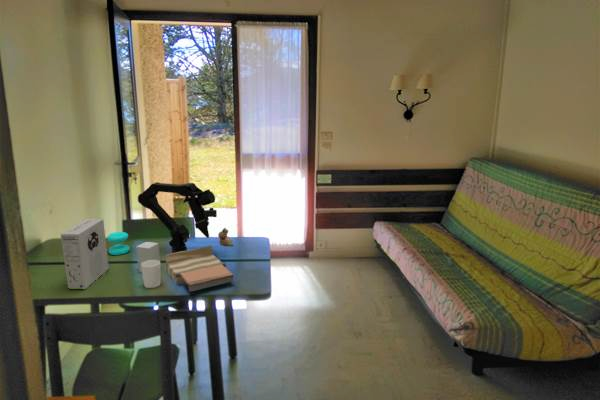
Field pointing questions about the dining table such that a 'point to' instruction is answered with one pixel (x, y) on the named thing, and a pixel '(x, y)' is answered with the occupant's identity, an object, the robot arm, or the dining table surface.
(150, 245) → the supplement box
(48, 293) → the dining table surface
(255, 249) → the dining table surface
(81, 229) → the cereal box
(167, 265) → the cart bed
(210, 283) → the panel
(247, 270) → the dining table surface
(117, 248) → the donuts
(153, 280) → the white cup
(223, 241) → the chocolate bunny
